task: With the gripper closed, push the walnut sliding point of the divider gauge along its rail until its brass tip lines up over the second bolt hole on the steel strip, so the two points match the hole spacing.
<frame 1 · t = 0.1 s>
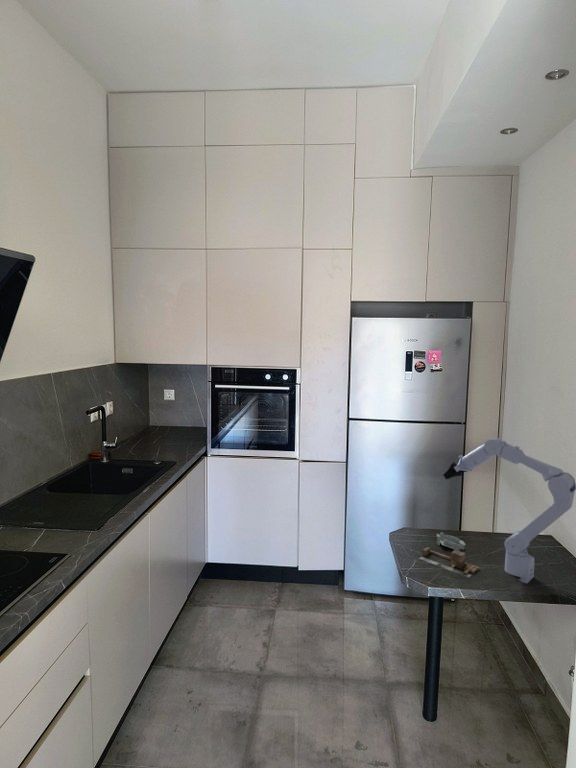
hand: (449, 475, 195), 32 cm above the breakfast bar, tool tilted 50°, fingers open, 7 cm apart
sliding point: (456, 560, 181), point 4 cm above the breakfast bar, slide at 0.0 cm
metal bracket: (452, 549, 202), on the breakfast bar
gauge board: (448, 567, 184), on the breakfast bar
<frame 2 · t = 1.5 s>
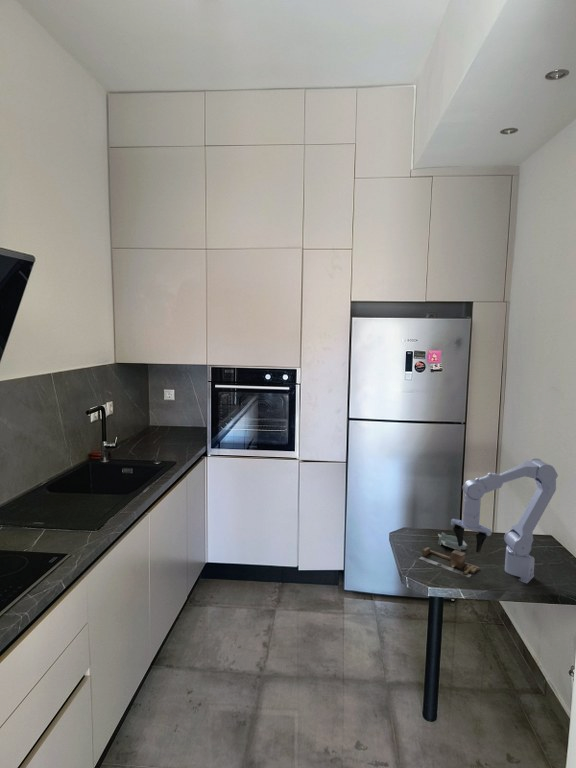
hand: (469, 548, 179), 9 cm above the breakfast bar, tool pointing down, fingers open, 6 cm apart
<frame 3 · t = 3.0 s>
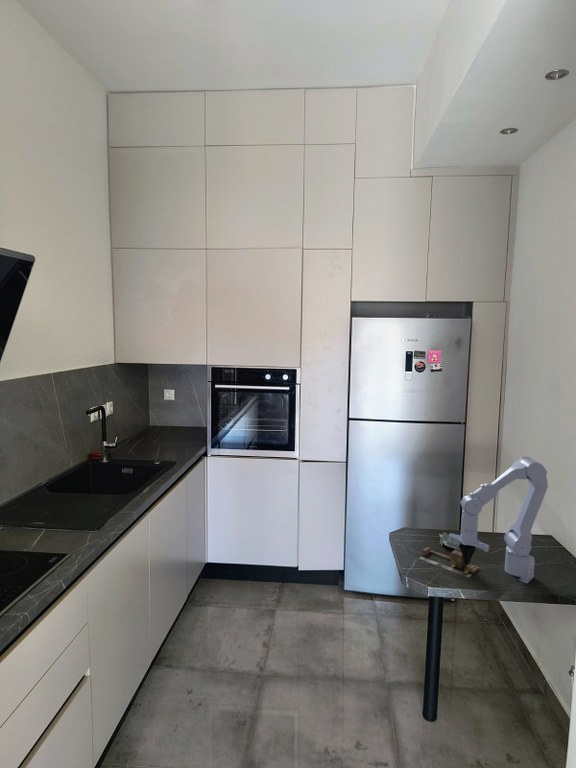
hand: (466, 563, 180), 3 cm above the breakfast bar, tool pointing down, fingers closed
sliding point: (456, 560, 181), point 4 cm above the breakfast bar, slide at 0.0 cm, touching gripper
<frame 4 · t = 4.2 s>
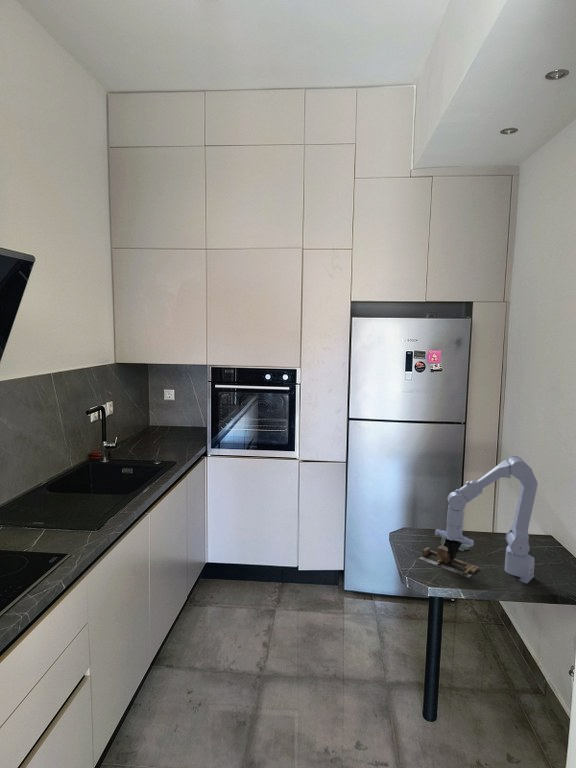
hand: (452, 558, 184), 3 cm above the breakfast bar, tool pointing down, fingers closed
sliding point: (442, 555, 185), point 4 cm above the breakfast bar, slide at 5.6 cm, touching gripper
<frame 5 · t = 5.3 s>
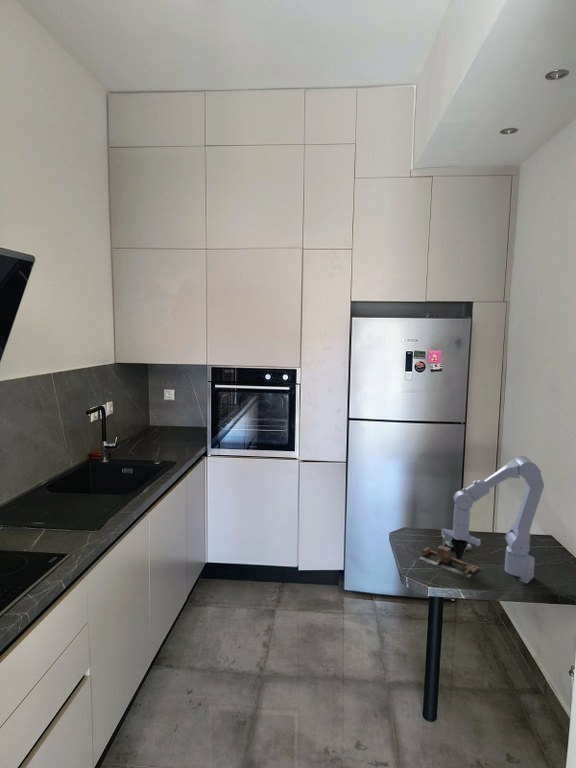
hand: (459, 558, 183), 4 cm above the breakfast bar, tool pointing down, fingers closed
sliding point: (441, 555, 185), point 4 cm above the breakfast bar, slide at 5.7 cm
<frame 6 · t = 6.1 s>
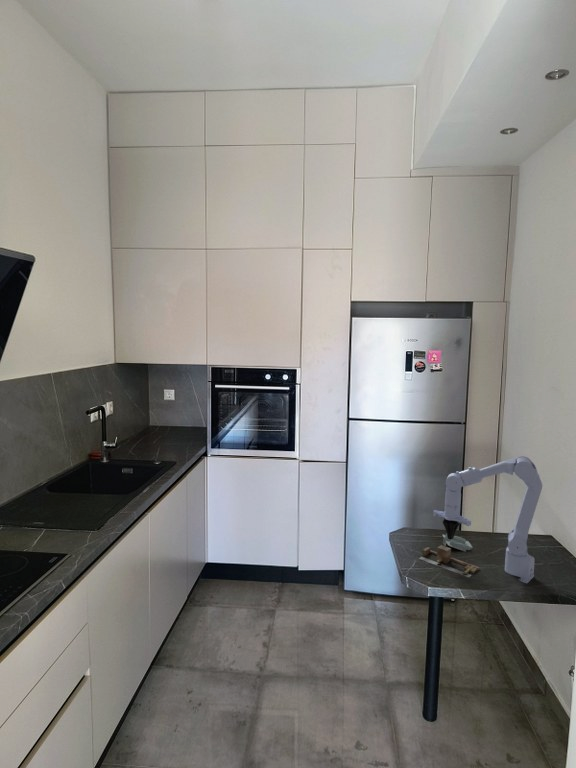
hand: (450, 538, 188), 9 cm above the breakfast bar, tool pointing down, fingers closed
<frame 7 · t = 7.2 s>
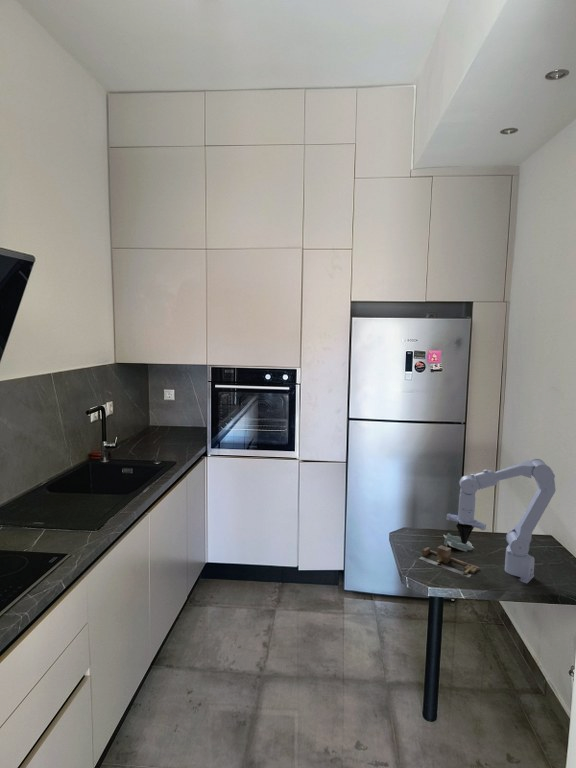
hand: (464, 542, 183), 10 cm above the breakfast bar, tool pointing down, fingers closed
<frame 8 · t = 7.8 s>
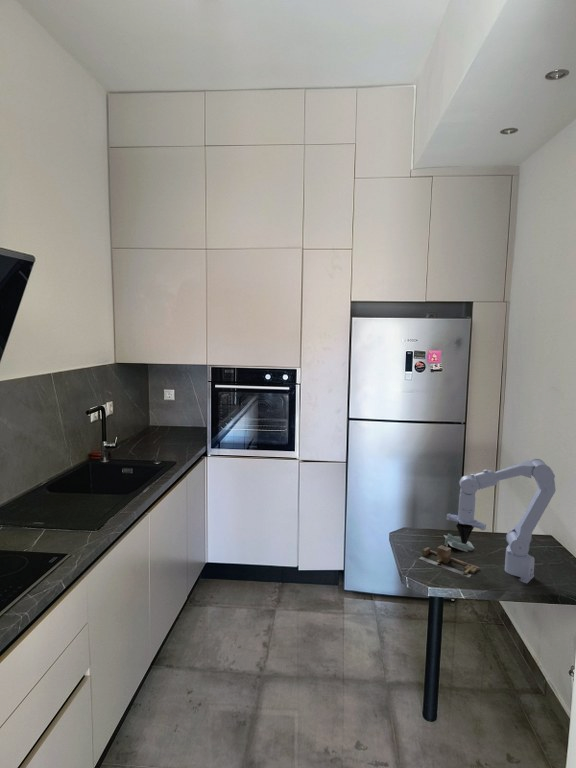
hand: (464, 542, 183), 10 cm above the breakfast bar, tool pointing down, fingers closed
at the end: sliding point slide at 5.7 cm; sliding point moved 5.7 cm from its start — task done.
